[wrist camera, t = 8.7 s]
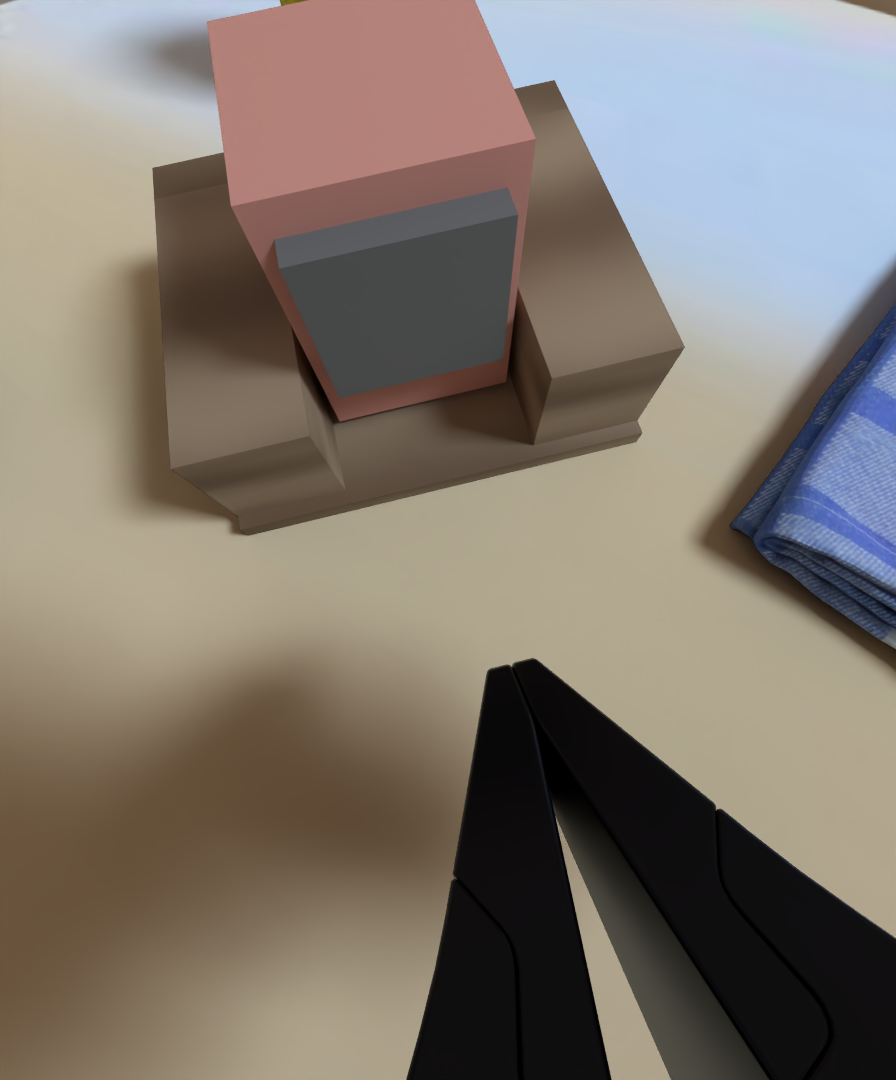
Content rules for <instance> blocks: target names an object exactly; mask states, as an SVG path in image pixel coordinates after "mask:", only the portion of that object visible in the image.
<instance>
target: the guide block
mask: <svg viewBox="0 0 896 1080" xmlns="http://www.w3.org/2000/svg"><path fill="white" fill-rule="evenodd" d="M514 90H515V92H516V95H517V97H518V99H519V102H520V104H521V106H522V108H523V111H524V113H525V115H526V117H527V120H528V122H529V124H530V126H531V129H532V131H533V133H534V135H535V138H536V142H535V151H534V159H533V167H532V175H531V183H530V191H529V199H528V208H527V216H526V224H525V232H524V240H523V248H522V256H521V265H520V273H519V281H518V289H517V297H516V305H515V313H514V321H513V330H512V338H511V346H510V354H509V362H508V370H507V378H506V382H505V383H501V384H497V385H492V386H488V387H484V388H480V389H475V390H471V391H467V392H463V393H458V394H454V395H450V396H446V397H442V398H437V399H433V400H429V401H425V402H420V403H416V404H412V405H408V406H403V407H399V408H395V409H391V410H387V411H382V412H378V413H374V414H370V415H365V416H361V417H357V418H353V419H348V420H344V421H339V419H338V417H337V415H336V413H335V411H334V409H333V407H332V405H331V403H330V401H329V399H328V397H327V395H326V393H325V391H324V389H323V387H322V385H321V383H320V381H319V379H318V378H317V376H316V374H315V372H314V370H313V368H312V366H311V364H310V362H309V360H308V358H307V356H306V354H305V352H304V350H303V348H302V346H301V344H300V342H299V340H298V338H297V336H296V334H295V332H294V330H293V328H292V326H291V324H290V322H289V320H288V318H287V316H286V314H285V312H284V310H283V308H282V306H281V304H280V302H279V300H278V298H277V296H276V294H275V292H274V290H273V289H272V287H271V285H270V283H269V281H268V279H267V277H266V275H265V273H264V271H263V269H262V267H261V265H260V263H259V261H258V259H257V257H256V255H255V253H254V251H253V249H252V247H251V245H250V243H249V241H248V239H247V237H246V235H245V233H244V231H243V229H242V227H241V225H240V223H239V221H238V219H237V217H236V215H235V213H234V211H233V209H232V207H231V203H230V195H229V187H228V180H227V172H226V164H225V157H224V153H219V154H215V155H210V156H206V157H201V158H196V159H192V160H187V161H183V162H178V163H174V164H169V165H164V166H160V167H155V168H153V185H154V202H155V219H156V235H157V252H158V269H159V286H160V303H161V320H162V337H163V353H164V370H165V387H166V404H167V421H168V438H169V454H170V469H171V470H173V471H174V472H176V473H177V474H178V475H180V476H181V477H183V478H184V479H186V480H187V481H188V482H190V483H191V484H193V485H194V486H196V487H197V488H198V489H200V490H201V491H203V492H204V493H206V494H207V495H208V496H210V497H211V498H213V499H214V500H216V501H217V502H218V503H220V504H221V505H223V506H224V507H226V508H227V509H228V510H230V511H231V512H233V513H234V514H236V515H237V516H238V519H239V528H240V531H242V532H243V533H245V534H247V535H252V534H256V533H261V532H265V531H269V530H273V529H277V528H281V527H285V526H290V525H294V524H298V523H302V522H306V521H310V520H314V519H318V518H323V517H327V516H331V515H335V514H339V513H343V512H347V511H352V510H356V509H360V508H364V507H368V506H372V505H376V504H381V503H385V502H389V501H393V500H397V499H401V498H405V497H409V496H414V495H418V494H422V493H426V492H430V491H434V490H438V489H443V488H447V487H451V486H455V485H459V484H463V483H467V482H472V481H476V480H480V479H484V478H488V477H492V476H496V475H500V474H505V473H509V472H513V471H517V470H521V469H525V468H529V467H534V466H538V465H542V464H546V463H550V462H554V461H558V460H563V459H567V458H571V457H575V456H579V455H583V454H587V453H591V452H596V451H600V450H604V449H608V448H612V447H616V446H620V445H625V444H629V443H633V442H636V441H637V440H638V438H639V437H640V436H641V434H642V431H641V428H640V426H639V424H638V421H637V420H638V418H639V417H640V415H641V414H642V412H643V411H644V409H645V408H646V406H647V405H648V403H649V402H650V400H651V398H652V397H653V395H654V394H655V392H656V391H657V389H658V388H659V386H660V385H661V383H662V382H663V380H664V378H665V377H666V375H667V374H668V372H669V371H670V369H671V368H672V366H673V365H674V363H675V361H676V360H677V358H678V357H679V355H680V354H681V352H682V351H683V349H684V348H685V346H684V344H683V342H682V340H681V338H680V336H679V334H678V332H677V330H676V328H675V326H674V324H673V322H672V320H671V318H670V316H669V314H668V312H667V310H666V308H665V306H664V304H663V301H662V299H661V297H660V295H659V293H658V291H657V289H656V287H655V285H654V283H653V281H652V279H651V277H650V275H649V273H648V271H647V269H646V267H645V265H644V263H643V261H642V259H641V256H640V254H639V252H638V250H637V248H636V246H635V244H634V242H633V240H632V238H631V236H630V234H629V232H628V230H627V228H626V226H625V224H624V222H623V220H622V218H621V216H620V214H619V211H618V209H617V207H616V205H615V203H614V201H613V199H612V197H611V195H610V193H609V191H608V189H607V187H606V185H605V183H604V181H603V179H602V177H601V175H600V173H599V171H598V169H597V166H596V164H595V162H594V160H593V158H592V156H591V154H590V152H589V150H588V148H587V146H586V144H585V142H584V140H583V138H582V136H581V134H580V132H579V130H578V128H577V126H576V124H575V122H574V119H573V117H572V115H571V113H570V111H569V109H568V107H567V105H566V103H565V101H564V99H563V97H562V95H561V93H560V91H559V89H558V87H557V85H556V83H555V81H554V80H553V81H549V82H544V83H540V84H535V85H531V86H526V87H521V88H517V89H514Z"/></svg>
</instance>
